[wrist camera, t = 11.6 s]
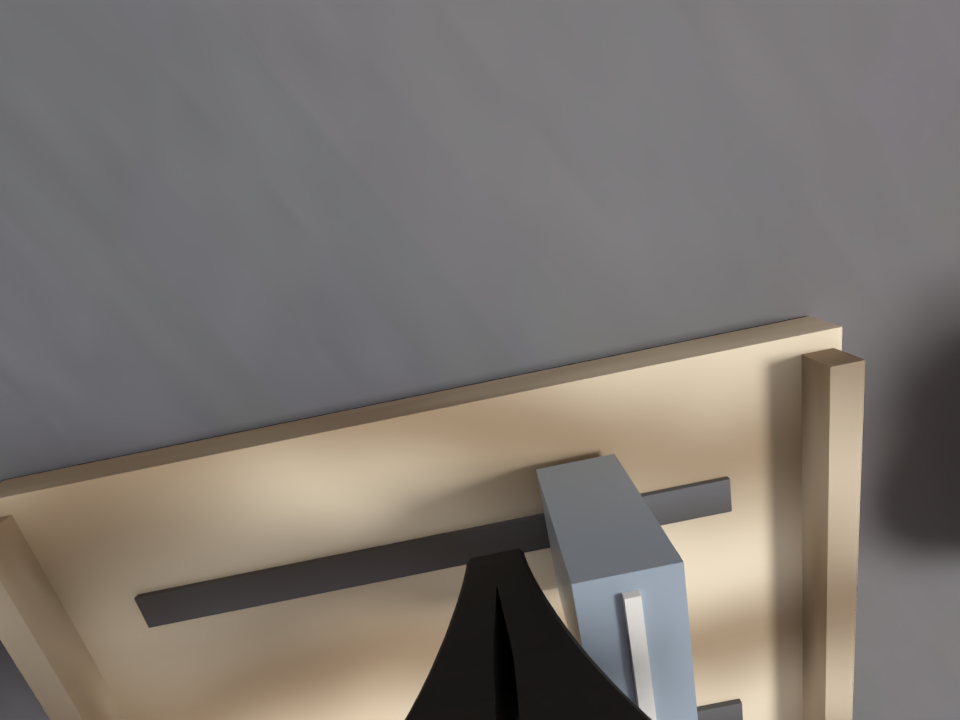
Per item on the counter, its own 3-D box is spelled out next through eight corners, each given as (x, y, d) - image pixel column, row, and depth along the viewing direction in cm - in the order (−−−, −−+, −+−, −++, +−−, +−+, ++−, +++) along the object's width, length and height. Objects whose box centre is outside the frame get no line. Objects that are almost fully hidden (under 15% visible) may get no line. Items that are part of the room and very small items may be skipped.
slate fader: (631, 582, 14) (701, 733, 10) (559, 596, 14) (601, 752, 10) (614, 453, 13) (687, 567, 9) (535, 469, 13) (573, 590, 9)
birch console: (808, 742, 18) (854, 813, 16) (213, 858, 19) (182, 942, 16) (809, 315, 13) (874, 337, 11) (4, 480, 14) (-78, 530, 12)
